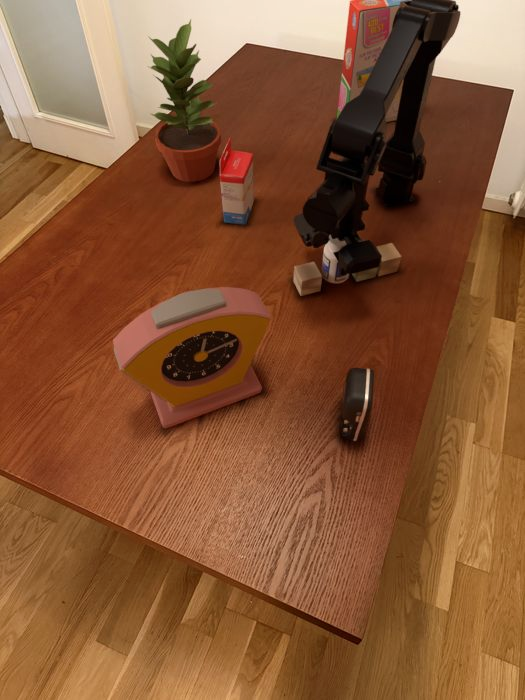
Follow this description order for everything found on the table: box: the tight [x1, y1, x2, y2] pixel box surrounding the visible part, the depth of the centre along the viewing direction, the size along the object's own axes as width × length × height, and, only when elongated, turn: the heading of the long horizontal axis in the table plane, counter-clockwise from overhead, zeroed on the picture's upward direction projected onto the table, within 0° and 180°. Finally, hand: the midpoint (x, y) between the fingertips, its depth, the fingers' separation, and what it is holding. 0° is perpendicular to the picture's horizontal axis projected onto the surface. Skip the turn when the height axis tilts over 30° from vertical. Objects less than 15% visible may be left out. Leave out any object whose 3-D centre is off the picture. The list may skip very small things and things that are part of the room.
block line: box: [292, 242, 402, 297], centre depth 95 cm, size 20×4×4 cm, turn 108°
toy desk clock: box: [112, 286, 272, 429], centre depth 73 cm, size 22×9×22 cm, turn 114°
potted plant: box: [147, 19, 222, 183], centre depth 105 cm, size 15×15×30 cm
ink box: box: [219, 137, 255, 226], centre depth 102 cm, size 8×5×15 cm, turn 168°
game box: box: [336, 0, 412, 123], centre depth 118 cm, size 21×6×27 cm, turn 108°
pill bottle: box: [320, 235, 350, 284], centre depth 91 cm, size 5×5×9 cm
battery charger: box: [340, 367, 375, 442], centre depth 74 cm, size 7×4×11 cm, turn 170°
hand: (337, 264), depth 93 cm, fingers closed on pill bottle, 5 cm apart
